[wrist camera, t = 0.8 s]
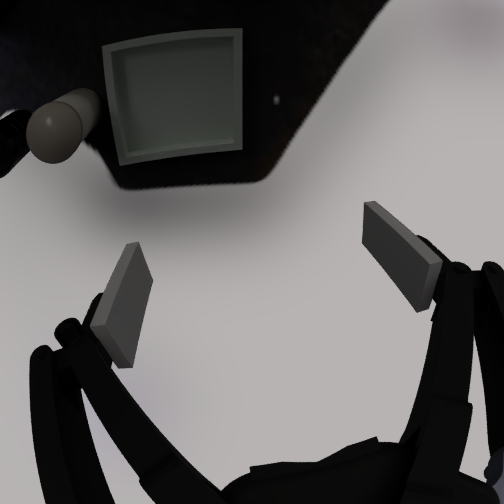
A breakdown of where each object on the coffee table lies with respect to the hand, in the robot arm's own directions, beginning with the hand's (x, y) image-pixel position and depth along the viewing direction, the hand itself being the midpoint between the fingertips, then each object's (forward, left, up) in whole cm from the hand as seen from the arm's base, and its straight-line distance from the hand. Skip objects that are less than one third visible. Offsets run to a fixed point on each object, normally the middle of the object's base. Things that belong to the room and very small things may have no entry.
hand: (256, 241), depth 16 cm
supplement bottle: (-4, -28, -26) cm, 38 cm away
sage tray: (-4, -5, -26) cm, 26 cm away
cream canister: (-4, -18, -26) cm, 31 cm away
